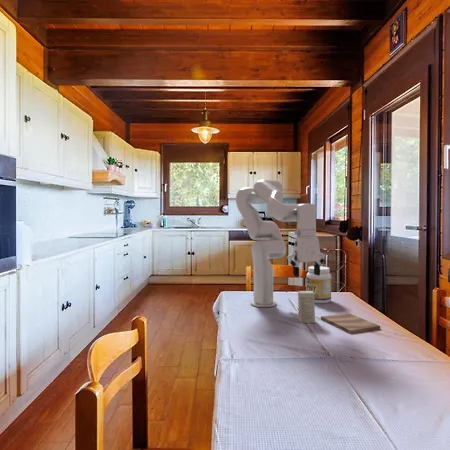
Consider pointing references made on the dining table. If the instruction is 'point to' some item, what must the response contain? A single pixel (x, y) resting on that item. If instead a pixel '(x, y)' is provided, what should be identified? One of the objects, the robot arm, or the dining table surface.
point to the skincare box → (306, 306)
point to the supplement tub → (319, 284)
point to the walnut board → (350, 323)
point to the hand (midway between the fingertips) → (306, 275)
